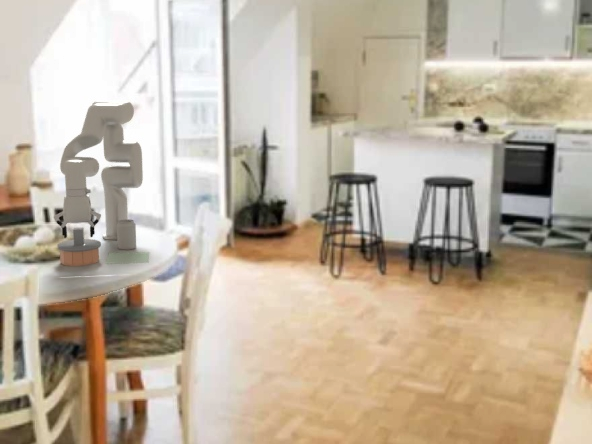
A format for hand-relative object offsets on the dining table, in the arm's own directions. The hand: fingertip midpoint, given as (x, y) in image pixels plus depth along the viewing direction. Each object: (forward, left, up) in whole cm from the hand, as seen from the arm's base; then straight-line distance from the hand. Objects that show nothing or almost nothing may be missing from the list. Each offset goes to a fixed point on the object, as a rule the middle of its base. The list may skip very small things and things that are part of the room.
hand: (78, 236), depth 279 cm
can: (-18, +17, -10) cm, 27 cm away
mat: (-2, +18, -10) cm, 21 cm away
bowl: (0, 0, -10) cm, 10 cm away
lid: (0, 0, -4) cm, 4 cm away
